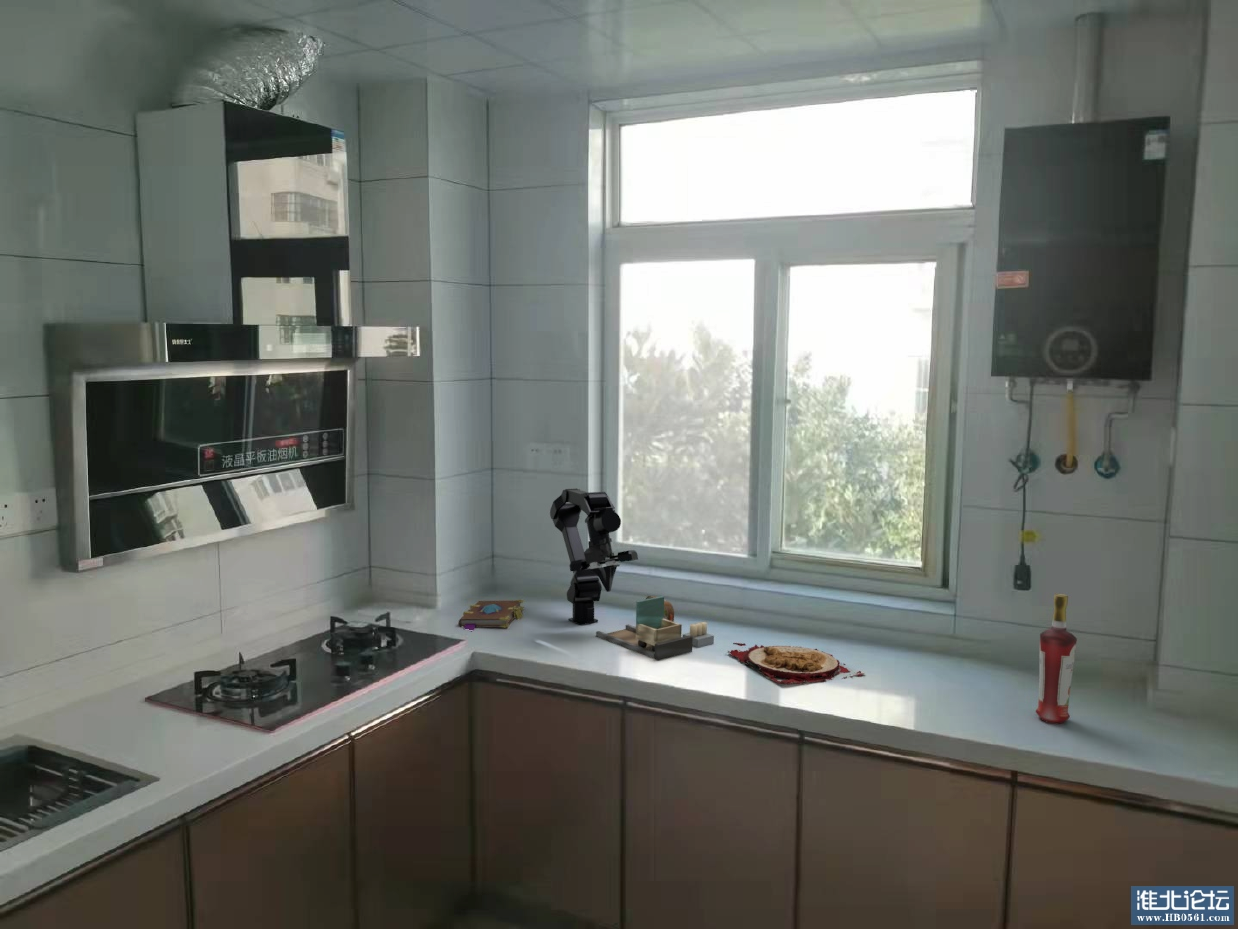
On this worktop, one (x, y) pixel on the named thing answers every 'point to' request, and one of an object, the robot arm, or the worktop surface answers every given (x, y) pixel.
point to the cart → (654, 623)
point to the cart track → (661, 649)
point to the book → (491, 614)
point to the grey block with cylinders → (700, 635)
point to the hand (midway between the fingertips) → (608, 591)
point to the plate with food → (791, 663)
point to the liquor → (1056, 666)
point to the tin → (666, 609)
